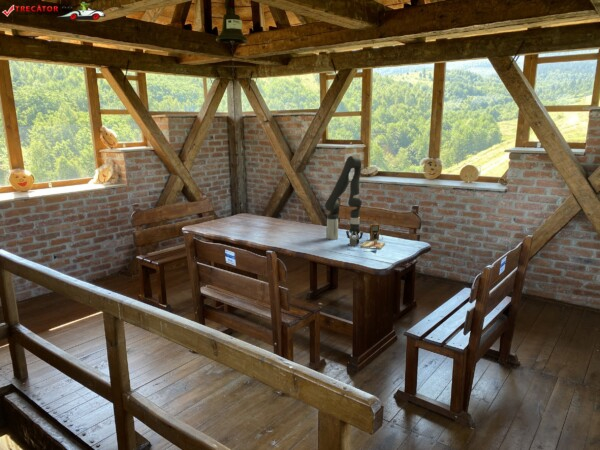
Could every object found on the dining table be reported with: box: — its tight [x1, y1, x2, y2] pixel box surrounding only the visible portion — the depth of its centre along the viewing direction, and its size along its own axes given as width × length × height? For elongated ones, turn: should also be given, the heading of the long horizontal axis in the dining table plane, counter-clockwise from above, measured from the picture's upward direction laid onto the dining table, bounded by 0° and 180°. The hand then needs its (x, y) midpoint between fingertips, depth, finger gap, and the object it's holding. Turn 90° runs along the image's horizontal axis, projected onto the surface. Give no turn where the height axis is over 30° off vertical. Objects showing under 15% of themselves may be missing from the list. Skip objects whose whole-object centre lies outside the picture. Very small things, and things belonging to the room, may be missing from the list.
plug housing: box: [349, 236, 358, 247], centre depth 355 cm, size 5×11×5 cm, turn 157°
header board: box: [360, 239, 386, 250], centre depth 350 cm, size 16×15×5 cm
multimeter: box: [366, 215, 384, 242], centre depth 366 cm, size 15×10×20 cm
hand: (354, 243), depth 356 cm, fingers closed on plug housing, 4 cm apart
